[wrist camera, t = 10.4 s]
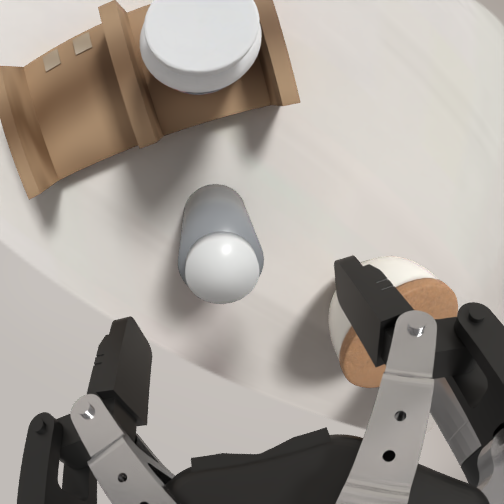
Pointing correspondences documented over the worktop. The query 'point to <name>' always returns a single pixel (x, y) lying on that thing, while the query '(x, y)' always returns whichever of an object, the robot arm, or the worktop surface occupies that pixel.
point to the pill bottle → (200, 42)
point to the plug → (219, 246)
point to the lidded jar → (417, 295)
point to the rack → (119, 97)
